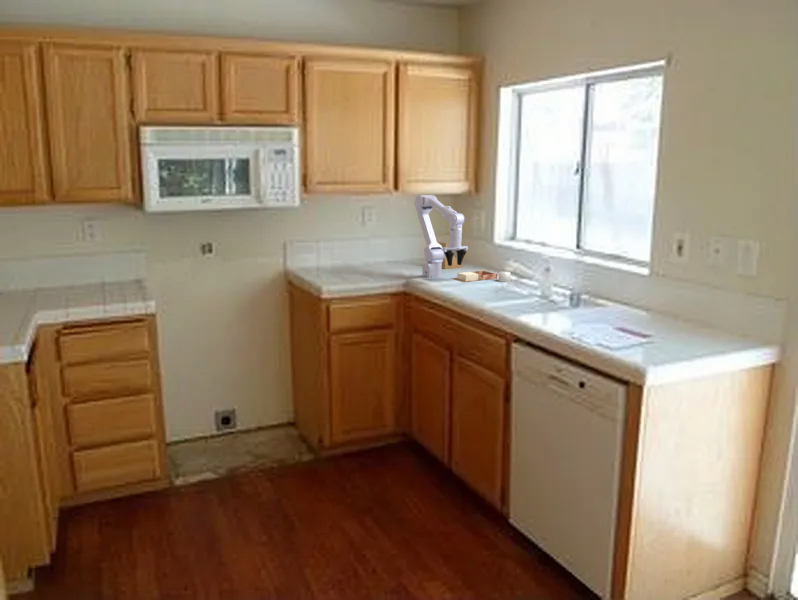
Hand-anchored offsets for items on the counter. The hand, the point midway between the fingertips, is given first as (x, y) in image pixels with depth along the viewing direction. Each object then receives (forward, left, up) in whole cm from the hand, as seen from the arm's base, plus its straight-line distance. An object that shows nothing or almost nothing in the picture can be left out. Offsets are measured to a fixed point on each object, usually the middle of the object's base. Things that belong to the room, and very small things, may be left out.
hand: (454, 265), depth 338 cm
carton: (+9, 0, -8) cm, 12 cm away
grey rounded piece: (+23, -12, -9) cm, 28 cm away
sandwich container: (+30, +41, -10) cm, 51 cm away
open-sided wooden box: (+13, 0, -9) cm, 16 cm away
